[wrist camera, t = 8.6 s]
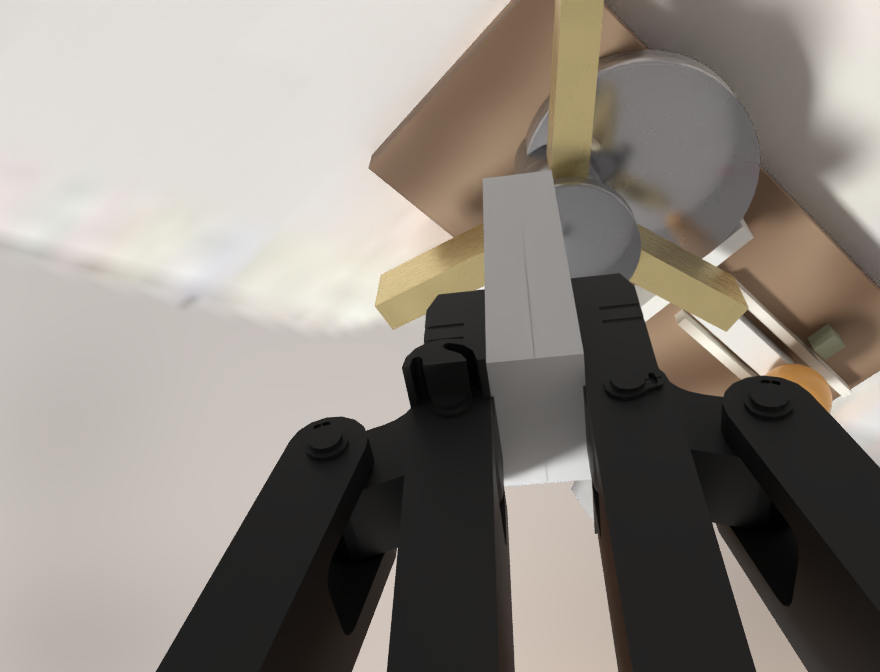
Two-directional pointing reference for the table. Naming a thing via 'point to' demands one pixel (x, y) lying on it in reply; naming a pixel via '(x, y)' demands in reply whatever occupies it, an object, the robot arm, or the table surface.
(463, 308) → the robot arm
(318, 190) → the table surface
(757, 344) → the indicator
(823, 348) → the board
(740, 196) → the cam capstan
